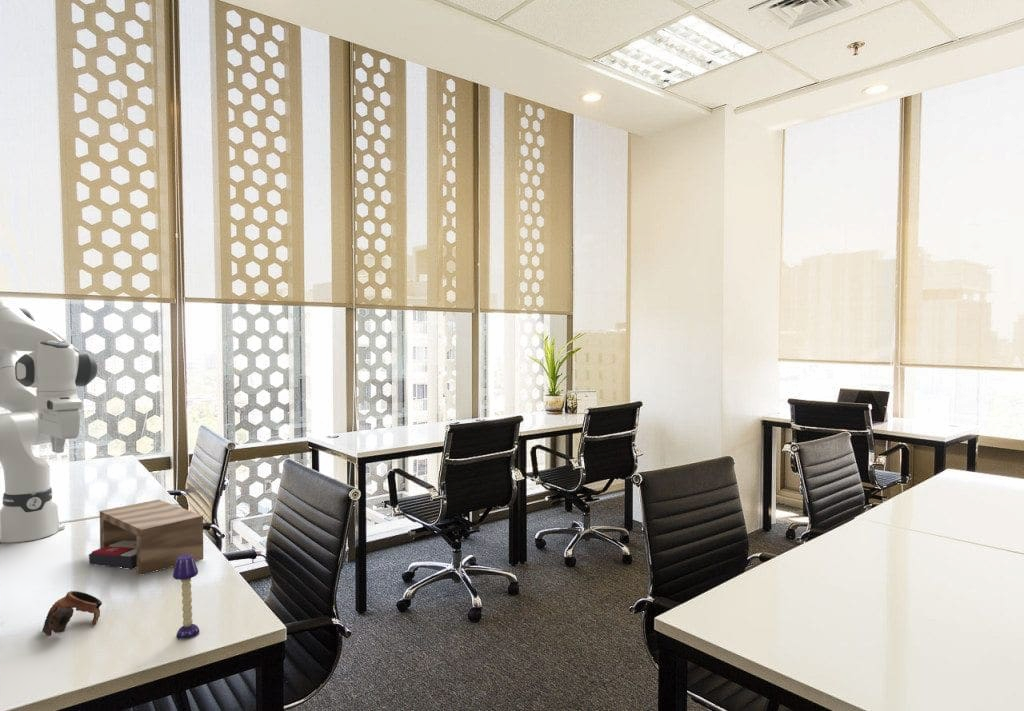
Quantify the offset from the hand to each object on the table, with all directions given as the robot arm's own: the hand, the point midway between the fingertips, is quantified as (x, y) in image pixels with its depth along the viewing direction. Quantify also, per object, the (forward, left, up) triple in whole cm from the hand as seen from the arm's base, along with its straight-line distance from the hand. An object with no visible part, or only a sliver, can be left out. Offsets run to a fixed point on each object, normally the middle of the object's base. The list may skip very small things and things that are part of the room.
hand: (58, 452), depth 165 cm
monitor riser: (+10, +19, -31) cm, 38 cm away
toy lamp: (+66, +3, -31) cm, 73 cm away
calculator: (+8, +13, -32) cm, 35 cm away
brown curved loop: (+43, -11, -31) cm, 55 cm away
